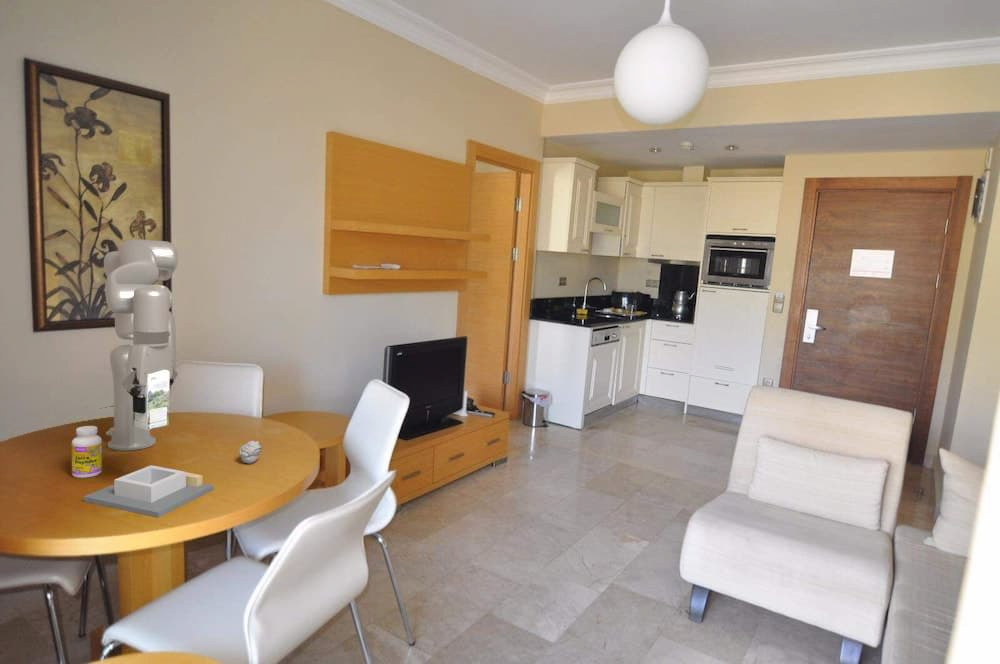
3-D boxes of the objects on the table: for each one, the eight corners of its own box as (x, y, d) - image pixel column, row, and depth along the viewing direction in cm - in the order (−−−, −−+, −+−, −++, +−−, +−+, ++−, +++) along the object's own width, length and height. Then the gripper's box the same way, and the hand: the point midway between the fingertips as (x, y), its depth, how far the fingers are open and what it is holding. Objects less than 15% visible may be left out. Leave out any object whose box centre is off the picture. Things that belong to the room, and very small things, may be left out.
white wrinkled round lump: (250, 468, 171) (250, 445, 170) (233, 463, 174) (233, 440, 173) (266, 462, 177) (267, 440, 176) (249, 457, 180) (250, 435, 179)
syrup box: (154, 421, 151) (154, 366, 149) (169, 426, 148) (170, 369, 146) (132, 426, 146) (132, 369, 144) (147, 431, 143) (147, 373, 141)
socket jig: (83, 501, 143) (83, 480, 142) (144, 476, 160) (144, 457, 160) (158, 517, 138) (158, 496, 137) (213, 489, 155) (213, 470, 155)
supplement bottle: (69, 480, 154) (68, 432, 153) (74, 471, 160) (73, 425, 159) (100, 477, 158) (99, 431, 156) (103, 468, 163) (103, 423, 162)
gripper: (166, 332, 153) (166, 399, 156) (107, 340, 137) (108, 415, 139) (190, 335, 151) (190, 403, 154) (133, 344, 135) (134, 420, 137)
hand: (151, 408), depth 146 cm, fingers closed on syrup box, 6 cm apart
